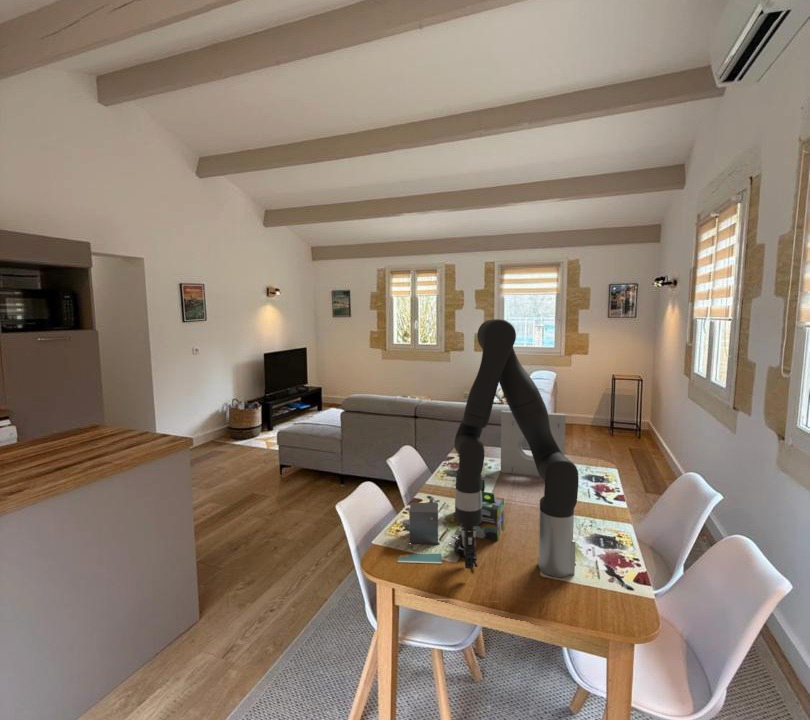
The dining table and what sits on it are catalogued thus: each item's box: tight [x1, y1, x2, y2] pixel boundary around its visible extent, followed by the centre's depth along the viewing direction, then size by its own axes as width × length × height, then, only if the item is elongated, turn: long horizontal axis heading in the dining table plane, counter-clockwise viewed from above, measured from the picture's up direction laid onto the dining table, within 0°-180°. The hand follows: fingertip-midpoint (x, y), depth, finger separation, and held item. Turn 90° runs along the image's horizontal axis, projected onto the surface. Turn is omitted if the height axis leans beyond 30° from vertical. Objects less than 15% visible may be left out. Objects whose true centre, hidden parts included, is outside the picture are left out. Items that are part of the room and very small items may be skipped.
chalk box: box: [475, 491, 505, 542], centre depth 145 cm, size 9×9×15 cm
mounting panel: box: [500, 410, 567, 477], centre depth 192 cm, size 27×5×30 cm, turn 73°
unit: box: [408, 502, 441, 546], centre depth 142 cm, size 10×8×11 cm
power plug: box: [447, 534, 478, 568], centre depth 130 cm, size 6×8×12 cm
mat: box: [397, 553, 443, 565], centre depth 133 cm, size 13×9×1 cm
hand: (468, 560), depth 124 cm, fingers open, 6 cm apart
